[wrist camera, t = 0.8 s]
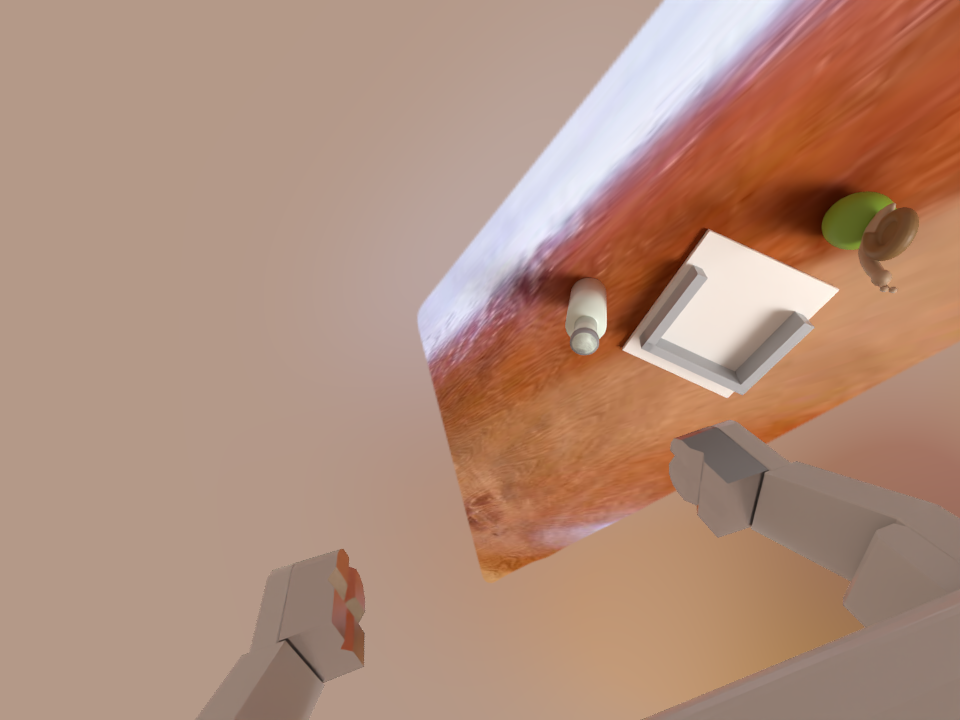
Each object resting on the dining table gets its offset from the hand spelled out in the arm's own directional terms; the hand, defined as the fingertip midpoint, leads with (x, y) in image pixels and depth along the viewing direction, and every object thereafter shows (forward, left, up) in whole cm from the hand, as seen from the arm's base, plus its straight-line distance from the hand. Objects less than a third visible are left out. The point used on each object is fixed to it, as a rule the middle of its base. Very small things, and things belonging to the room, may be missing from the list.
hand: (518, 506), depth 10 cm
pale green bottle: (+13, +7, -45) cm, 48 cm away
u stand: (+9, +23, -45) cm, 52 cm away
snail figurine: (-6, +26, -46) cm, 53 cm away
